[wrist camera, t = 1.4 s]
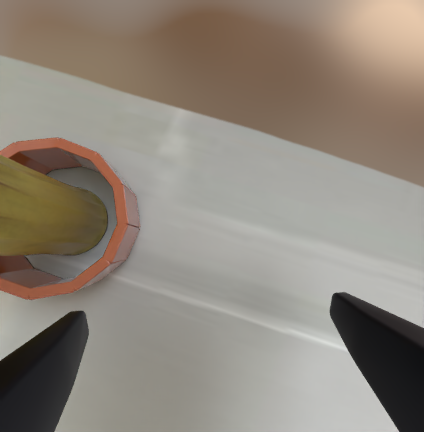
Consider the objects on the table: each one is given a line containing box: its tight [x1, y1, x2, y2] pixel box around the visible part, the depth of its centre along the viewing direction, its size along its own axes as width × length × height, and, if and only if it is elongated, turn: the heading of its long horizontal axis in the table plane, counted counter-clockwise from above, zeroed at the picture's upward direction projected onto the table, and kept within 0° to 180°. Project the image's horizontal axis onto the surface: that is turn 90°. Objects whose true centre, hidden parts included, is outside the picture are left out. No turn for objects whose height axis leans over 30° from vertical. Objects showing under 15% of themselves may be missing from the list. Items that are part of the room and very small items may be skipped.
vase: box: [0, 155, 107, 256], centre depth 15 cm, size 6×6×14 cm
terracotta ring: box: [0, 137, 140, 300], centre depth 19 cm, size 12×12×4 cm
